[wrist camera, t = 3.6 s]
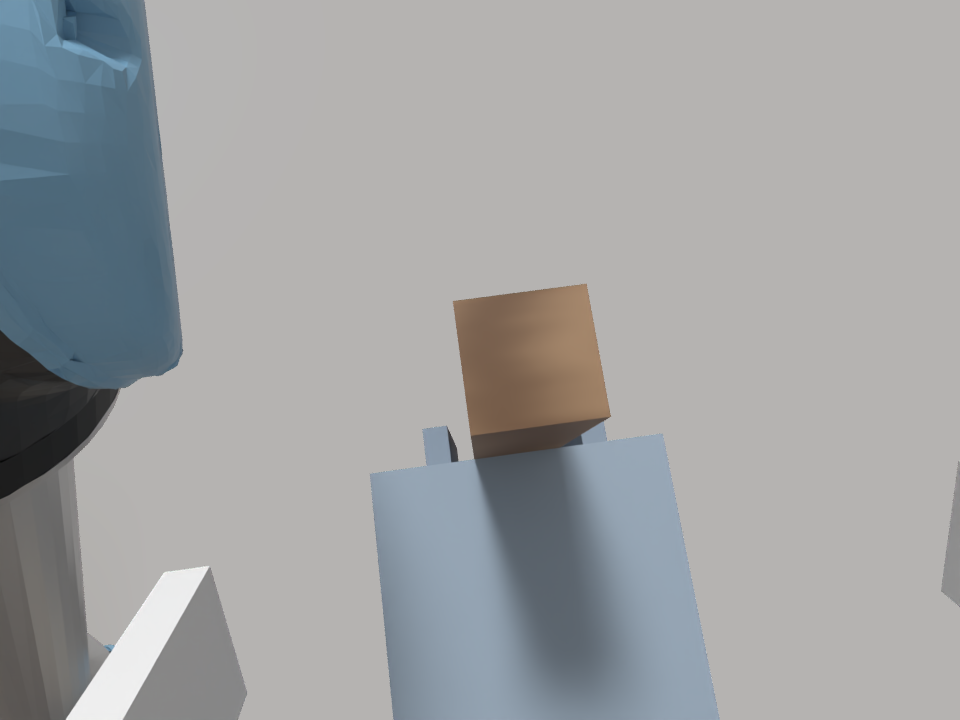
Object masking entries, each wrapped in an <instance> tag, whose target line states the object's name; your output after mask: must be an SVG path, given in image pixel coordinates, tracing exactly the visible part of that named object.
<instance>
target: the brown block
mask: <svg viewBox="0 0 960 720" xmlns="http://www.w3.org/2000/svg"><path fill="white" fill-rule="evenodd" d="M453 304H454V312H455V320H456V328H457V335H458V342H459V350H460V358H461V365H462V373H463V381H464V387H465V396H466V403H467V411H468V418H469V426H470V433H471V440H472V446H473V453H474V459H481V458H488V457H495V456H503V455H510V454H517V453H525V452H532V451H539V450H546V449H554V448H560V447H562V446H563V445H565V444H567V443H568V442H570V441H572V440H573V439H575V438H577V437H578V436H580V435H581V434H583V433H585V432H586V431H588V430H590V429H591V428H593V427H595V426H596V425H598V424H600V423H601V422H603V421H604V420H606V419H608V418H609V417H611V415H610V410H609V405H608V399H607V394H606V388H605V382H604V377H603V371H602V366H601V361H600V355H599V350H598V344H597V339H596V333H595V328H594V322H593V317H592V311H591V306H590V301H589V295H588V289H587V284H581V285H574V286H566V287H558V288H551V289H543V290H535V291H528V292H520V293H512V294H505V295H497V296H490V297H481V298H474V299H466V300H458V301H453Z"/></svg>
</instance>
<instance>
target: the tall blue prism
mask: <svg viewBox="0 0 960 720" xmlns="http://www.w3.org/2000/svg"><path fill="white" fill-rule="evenodd" d="M423 438H424V446H425V455H426V463H427V466H423V467H415V468H408V469H401V470H393V471H386V472H379V473H373V474H370V479H371V488H372V489H371V490H372V500H373V511H374V521H375V531H376V541H377V552H378V563H379V573H380V583H381V593H382V603H383V614H384V625H385V636H386V646H387V656H388V666H389V677H390V687H391V698H392V709H393V719H394V720H720V719H719V714H718V709H717V704H716V699H715V694H714V689H713V684H712V679H711V674H710V669H709V664H708V659H707V654H706V649H705V644H704V639H703V634H702V629H701V624H700V619H699V614H698V609H697V604H696V599H695V594H694V589H693V584H692V579H691V574H690V569H689V564H688V559H687V554H686V549H685V544H684V538H683V534H682V529H681V523H680V519H679V513H678V508H677V503H676V498H675V493H674V488H673V483H672V478H671V473H670V468H669V463H668V458H667V454H666V448H665V443H664V438H663V434H656V435H649V436H642V437H634V438H626V439H619V440H612V441H607V438H606V432H605V427H604V421H603V422H601V423H600V424H598V425H596V426H595V427H593V428H591V429H590V430H588V431H586V432H585V433H583V434H581V435H580V436H578V437H577V438H575V439H573V440H572V441H570V442H568V443H567V444H565V445H563V446H562V447H560V448H554V449H546V450H539V451H532V452H525V453H517V454H510V455H503V456H495V457H488V458H481V459H474V460H466V461H460V462H458V454H457V448H456V445H455V443H454V441H453V439H452V436H451V434H450V432H449V430H448V427H447V426H442V427H434V428H427V429H423Z"/></svg>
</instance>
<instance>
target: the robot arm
mask: <svg viewBox="0 0 960 720" xmlns="http://www.w3.org/2000/svg"><path fill="white" fill-rule="evenodd" d="M182 352H183V349H182V333H181V324H180V313H179V303H178V294H177V285H176V275H175V267H174V257H173V248H172V240H171V232H170V224H169V215H168V204H167V195H166V186H165V178H164V170H163V162H162V152H161V142H160V134H159V125H158V116H157V107H156V97H155V89H154V80H153V72H152V62H151V53H150V45H149V36H148V28H147V19H146V10H145V2H144V0H0V720H238V717H239V714H240V712H241V709H242V706H243V703H244V701H245V698H246V695H247V690H246V687H245V684H244V680H243V677H242V674H241V670H240V667H239V664H238V660H237V657H236V653H235V650H234V647H233V643H232V639H231V636H230V633H229V629H228V626H227V623H226V619H225V616H224V612H223V609H222V606H221V602H220V599H219V595H218V592H217V589H216V585H215V582H214V578H213V575H212V572H211V568H210V566H205V567H198V568H191V569H184V570H177V571H170V572H164V574H163V575H162V577H161V578H160V580H159V581H158V582H157V584H156V586H155V587H154V588H153V590H152V591H151V593H150V594H149V596H148V597H147V599H146V600H145V602H144V603H143V605H142V606H141V608H140V609H139V611H138V613H137V614H136V615H135V617H134V618H133V620H132V621H131V623H130V624H129V626H128V627H127V629H126V630H125V632H124V633H123V635H122V636H121V638H120V639H119V641H118V642H117V644H116V645H115V646H114V645H105V646H103V645H102V644H101V643H100V642H99V641H98V640H96V639H95V638H94V637H93V636H91V635H90V634H88V633H87V626H86V613H85V601H84V587H83V574H82V562H81V549H80V538H79V525H78V512H77V500H76V486H75V474H74V461H73V458H74V457H75V456H76V455H77V454H78V453H79V452H80V451H81V450H82V449H83V448H84V447H85V446H86V445H87V444H88V443H89V442H90V441H91V439H92V438H93V437H94V436H95V435H96V433H97V432H98V431H99V430H100V428H101V427H102V426H103V424H104V423H105V421H106V419H107V418H108V416H109V414H110V413H111V411H112V409H113V408H114V405H115V403H116V400H117V397H118V395H119V392H120V389H121V388H126V387H128V386H130V385H131V384H133V383H134V382H135V381H137V380H138V379H140V378H142V377H150V376H159V375H163V374H164V373H165V372H167V371H169V370H171V369H173V368H174V367H176V366H177V365H178V362H179V359H180V357H181V355H182ZM941 591H942V592H943V593H944V594H945V595H946V596H947V597H949V598H950V599H951V600H952V601H954V602H955V603H956V604H957V605H958V606H959V607H960V461H958V469H957V477H956V484H955V491H954V499H953V507H952V513H951V521H950V528H949V536H948V543H947V551H946V558H945V565H944V573H943V580H942V588H941Z"/></svg>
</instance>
